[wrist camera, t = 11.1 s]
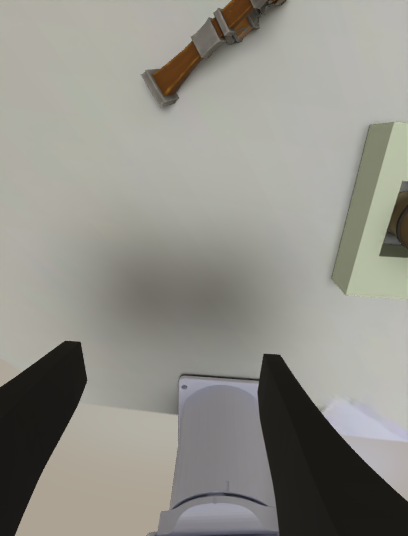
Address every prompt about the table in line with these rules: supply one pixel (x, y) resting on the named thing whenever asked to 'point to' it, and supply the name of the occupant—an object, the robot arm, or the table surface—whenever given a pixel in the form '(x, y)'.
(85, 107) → the table surface
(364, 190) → the board
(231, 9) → the wooden post with brackets
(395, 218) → the peg
